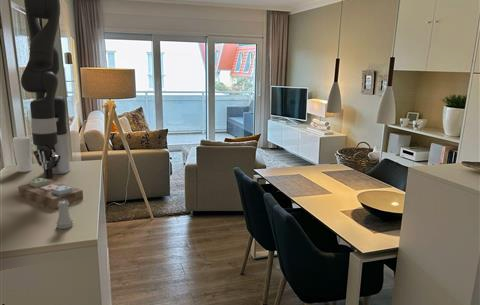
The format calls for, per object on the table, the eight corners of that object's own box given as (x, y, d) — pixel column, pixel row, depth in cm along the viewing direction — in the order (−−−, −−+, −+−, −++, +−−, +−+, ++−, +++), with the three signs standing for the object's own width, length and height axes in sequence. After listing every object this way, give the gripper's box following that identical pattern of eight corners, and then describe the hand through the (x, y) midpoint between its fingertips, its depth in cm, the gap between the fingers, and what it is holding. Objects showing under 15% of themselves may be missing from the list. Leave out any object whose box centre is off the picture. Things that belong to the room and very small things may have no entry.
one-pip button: (41, 193, 124) (40, 187, 123) (52, 190, 127) (52, 183, 127) (48, 196, 122) (47, 189, 121) (60, 192, 125) (59, 186, 125)
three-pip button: (29, 186, 127) (29, 180, 126) (41, 183, 131) (40, 177, 130) (36, 189, 125) (35, 182, 124) (48, 186, 128) (47, 179, 128)
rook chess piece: (60, 223, 105) (58, 198, 104) (75, 223, 106) (73, 198, 104) (53, 229, 101) (51, 203, 99) (69, 229, 102) (67, 204, 100)
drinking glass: (25, 173, 150) (22, 139, 147) (12, 172, 151) (8, 138, 148) (37, 169, 157) (34, 136, 153) (24, 168, 158) (21, 135, 154)
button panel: (19, 195, 125) (18, 186, 125) (48, 187, 135) (47, 179, 134) (53, 209, 115) (52, 199, 114) (83, 199, 124) (82, 190, 124)
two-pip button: (52, 195, 120) (51, 188, 120) (64, 191, 124) (63, 184, 123) (60, 197, 118) (59, 190, 117) (71, 194, 122) (71, 187, 121)
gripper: (66, 131, 119) (70, 179, 123) (44, 126, 126) (48, 172, 130) (44, 135, 113) (49, 185, 117) (22, 129, 119) (27, 177, 124)
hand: (48, 178), depth 123 cm, fingers closed
